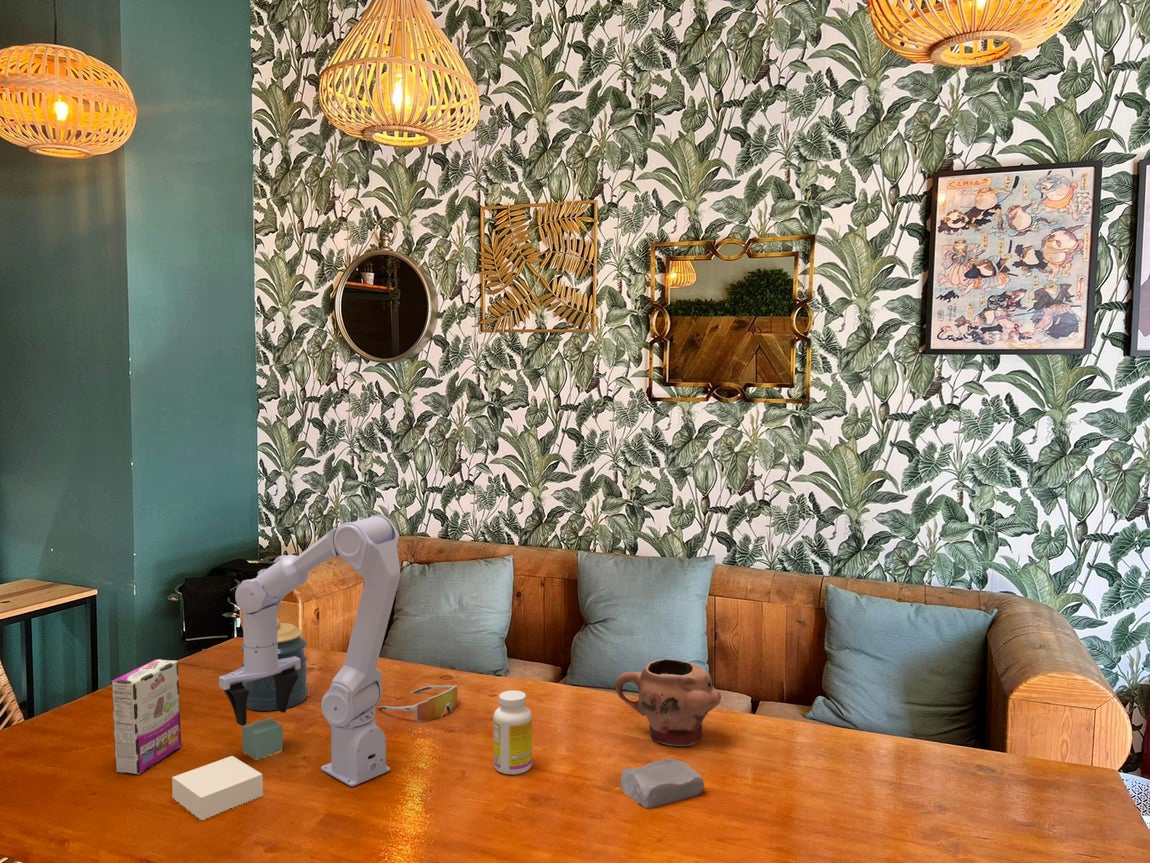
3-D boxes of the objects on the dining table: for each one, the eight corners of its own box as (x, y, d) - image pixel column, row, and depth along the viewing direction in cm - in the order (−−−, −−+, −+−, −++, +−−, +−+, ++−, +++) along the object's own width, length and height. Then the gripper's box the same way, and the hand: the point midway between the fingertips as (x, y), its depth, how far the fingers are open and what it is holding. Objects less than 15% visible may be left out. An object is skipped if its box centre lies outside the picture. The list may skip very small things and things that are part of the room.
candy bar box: (158, 745, 152) (155, 658, 151) (182, 747, 151) (180, 659, 150) (112, 773, 141) (110, 679, 140) (138, 776, 140) (135, 681, 139)
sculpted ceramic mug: (610, 746, 152) (610, 672, 151) (618, 720, 164) (618, 651, 163) (720, 755, 149) (721, 680, 148) (720, 727, 161) (721, 657, 160)
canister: (262, 687, 181) (260, 608, 180) (318, 690, 179) (317, 610, 178) (229, 710, 168) (227, 625, 167) (289, 714, 166) (288, 628, 165)
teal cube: (282, 752, 150) (282, 725, 149) (256, 761, 146) (256, 734, 146) (268, 744, 153) (268, 717, 153) (242, 753, 149) (242, 726, 149)
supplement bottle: (538, 763, 146) (538, 691, 145) (520, 779, 140) (520, 705, 139) (505, 755, 148) (505, 685, 148) (486, 771, 142) (486, 698, 142)
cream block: (263, 798, 134) (262, 774, 133) (201, 823, 126) (201, 797, 126) (232, 778, 140) (232, 755, 140) (172, 801, 133) (172, 777, 132)
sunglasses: (426, 728, 160) (422, 702, 160) (371, 722, 168) (368, 698, 168) (472, 704, 172) (469, 680, 172) (418, 700, 180) (416, 677, 180)
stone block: (614, 796, 138) (646, 812, 129) (613, 766, 138) (644, 780, 130) (674, 784, 143) (708, 798, 134) (672, 755, 144) (706, 767, 135)
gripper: (286, 629, 156) (287, 699, 157) (210, 648, 145) (211, 723, 146) (306, 637, 152) (307, 709, 153) (229, 657, 141) (230, 734, 142)
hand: (261, 717), depth 149 cm, fingers open, 7 cm apart
